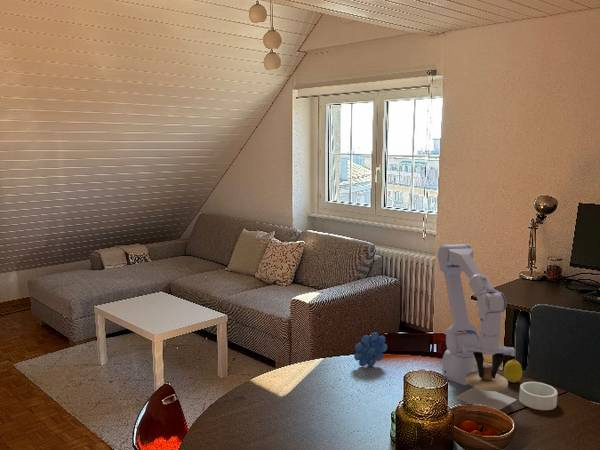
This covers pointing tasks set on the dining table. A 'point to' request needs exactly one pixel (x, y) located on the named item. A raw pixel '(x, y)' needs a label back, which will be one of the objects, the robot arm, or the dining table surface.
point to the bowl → (538, 395)
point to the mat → (485, 398)
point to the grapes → (370, 349)
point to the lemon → (513, 371)
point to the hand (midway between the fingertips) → (486, 376)
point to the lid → (486, 380)
